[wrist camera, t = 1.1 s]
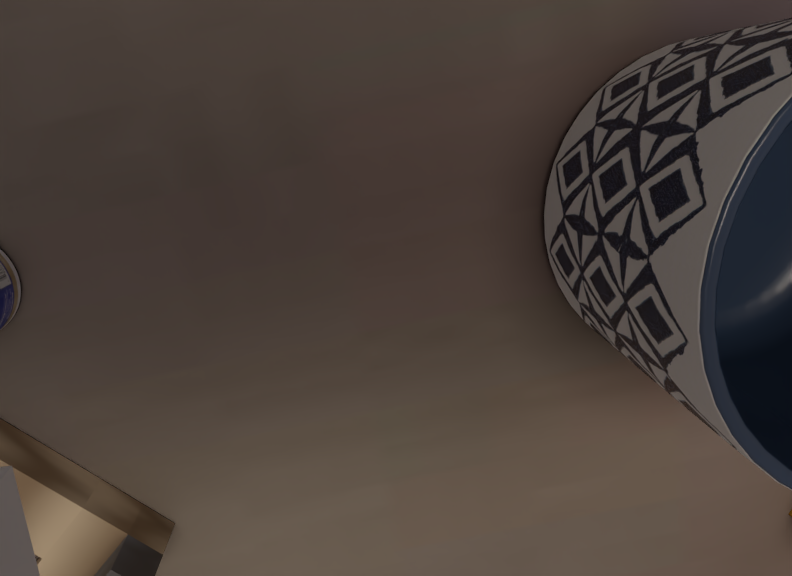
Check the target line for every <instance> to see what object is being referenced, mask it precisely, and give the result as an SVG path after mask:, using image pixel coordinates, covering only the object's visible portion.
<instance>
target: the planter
mask: <svg viewBox="0 0 792 576" xmlns="http://www.w3.org/2000/svg"><path fill="white" fill-rule="evenodd" d="M544 226H545V241H546V246H547V251H548V256H549V261H550V265H551V267H552V270H553V273H554V275H555V278H556V280H557V283H558V285H559V287H560V289H561V290H562V292H563V294H564V295H565V297H566V299H567V301H568V302H569V304H570V305H571V306H572V308H573V309H574V310H575V311H576V312H577V313H578V315H579V316H580V317H581V318H582V319H583V320H584V321H585V322H586V323H587V324H588V325H589V326H590V327H591V328H592V329H594V330H595V331H596V332H597V333H598V334H599V335H601V336H602V337H603V338H604V339H605V340H606V341H608V342H609V343H610V344H611V345H612V346H613V347H615V348H616V349H617V350H618V351H619V352H621V353H622V354H623V355H624V356H625V357H626V358H628V359H629V360H630V361H631V362H632V363H634V364H635V365H636V366H637V367H638V368H639V369H641V370H642V371H643V372H644V373H645V374H647V375H648V376H649V377H650V378H651V379H652V380H654V381H655V382H656V383H657V384H658V385H660V386H661V387H662V388H663V389H664V390H666V391H667V392H668V393H669V394H670V395H672V396H673V397H674V398H675V399H676V400H677V401H679V402H680V403H681V404H682V405H683V406H685V407H686V408H687V409H688V410H689V411H691V412H692V413H693V414H694V415H695V416H697V417H698V418H699V419H700V420H701V421H703V422H704V423H705V424H706V425H707V426H708V427H710V428H711V429H712V430H713V431H714V432H716V433H717V434H718V435H719V436H720V437H722V438H723V439H724V440H725V441H727V442H728V443H729V444H730V445H731V446H733V447H734V448H735V449H736V450H738V451H739V452H740V453H741V454H742V455H744V456H745V457H746V458H747V459H749V460H750V461H751V462H752V463H754V464H755V465H756V466H757V467H759V468H760V469H761V470H762V471H763V472H765V473H766V474H767V475H768V476H770V477H771V478H772V479H773V480H775V481H776V482H778V483H779V484H781V485H783V486H785V487H787V488H789V489H790V490H792V18H789V19H784V20H779V21H774V22H769V23H764V24H759V25H754V26H749V27H745V28H740V29H735V30H730V31H725V32H720V33H715V34H711V35H706V36H701V37H697V38H693V39H689V40H685V41H682V42H678V43H674V44H671V45H667V46H665V47H663V48H661V49H659V50H656V51H654V52H652V53H650V54H648V55H645V56H643V57H641V58H640V59H638V60H637V61H635V62H634V63H632V64H631V65H629V66H628V67H626V68H625V69H623V70H622V71H620V72H619V73H618V74H616V75H615V76H614V77H613V78H612V79H611V80H610V81H609V82H607V83H606V84H605V85H604V86H603V87H602V88H601V89H600V90H599V91H598V92H597V93H596V94H595V95H594V96H593V98H592V99H591V100H590V101H589V102H588V104H587V105H586V106H585V107H584V108H583V109H582V111H581V112H580V113H579V115H578V116H577V118H576V120H575V121H574V123H573V125H572V126H571V128H570V129H569V131H568V133H567V134H566V136H565V138H564V140H563V142H562V145H561V147H560V149H559V152H558V154H557V156H556V159H555V161H554V164H553V168H552V171H551V175H550V179H549V182H548V186H547V192H546V201H545V210H544Z"/></svg>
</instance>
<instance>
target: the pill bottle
mask: <svg viewBox="0 0 792 576" xmlns="http://www.w3.org/2000/svg"><path fill="white" fill-rule="evenodd" d="M20 297H21V286H20V280H19V277H18V274H17V271H16V269H15V267H14V265H13V264H12V262H11V261H10V259H9V258H8V257H7V256H6V254H5V253H4V252H3V251H2V250H1V249H0V330H1V329H2V328H4V327H5V326H6V325H7V324H8V323H9V322H10V321H11V319H12V318H13V317H14V315H15V313H16V311H17V309H18V306H19V303H20Z"/></svg>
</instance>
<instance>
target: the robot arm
mask: <svg viewBox="0 0 792 576" xmlns="http://www.w3.org/2000/svg"><path fill="white" fill-rule="evenodd" d="M0 576H40V574H39V570H38V566H37V562H36V558H35V554H34V550H33V546H32V542H31V538H30V534H29V531H28V527H27V523H26V519H25V515H24V511H23V507H22V503H21V499H20V495H19V491H18V487H17V483H16V479H15V475H14V471H13V468H12V466H3V467H0Z"/></svg>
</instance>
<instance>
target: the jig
mask: <svg viewBox="0 0 792 576" xmlns="http://www.w3.org/2000/svg"><path fill="white" fill-rule="evenodd" d="M3 466H12V468H13V471H14V475H15V479H16V483H17V487H18V491H19V495H20V499H21V503H22V507H23V511H24V515H25V519H26V523H27V527H28V531H29V534H30V538H31V542H32V546H33V550H34V554H35V555H37V556H39V558H38V559H37V560H36V562H37V566H38V570H39V574H40V576H155V574H156V571H157V569H158V566H159V564H160V561H161V558H162V556H163V553H164V551H165V548H166V545H167V543H168V540H169V538H170V535H171V532H172V530H173V527H174V525H175V523H173V522H172V521H170V520H168V519H167V518H165V517H163V516H162V515H160V514H158V513H157V512H155V511H153V510H152V509H150V508H148V507H147V506H145V505H143V504H142V503H140V502H138V501H137V500H135V499H133V498H132V497H130V496H128V495H127V494H125V493H123V492H122V491H120V490H118V489H117V488H115V487H113V486H112V485H110V484H108V483H107V482H105V481H103V480H102V479H100V478H98V477H97V476H95V475H93V474H92V473H90V472H88V471H87V470H85V469H83V468H82V467H80V466H78V465H77V464H75V463H73V462H72V461H70V460H68V459H67V458H65V457H63V456H62V455H60V454H58V453H57V452H55V451H53V450H52V449H50V448H48V447H47V446H45V445H43V444H42V443H40V442H38V441H37V440H35V439H33V438H32V437H30V436H28V435H27V434H25V433H23V432H22V431H20V430H18V429H17V428H15V427H13V426H12V425H10V424H8V423H7V422H5V421H3V420H2V419H0V467H3Z"/></svg>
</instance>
